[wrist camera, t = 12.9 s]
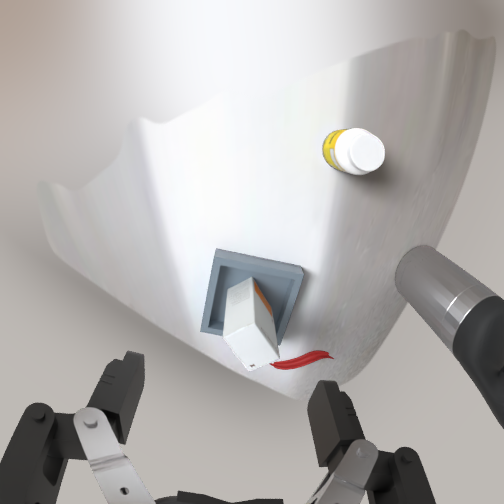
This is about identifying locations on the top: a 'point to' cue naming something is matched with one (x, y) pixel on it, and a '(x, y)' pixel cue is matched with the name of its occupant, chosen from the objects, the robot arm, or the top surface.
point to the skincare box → (250, 326)
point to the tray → (267, 278)
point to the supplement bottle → (353, 151)
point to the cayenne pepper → (301, 360)
